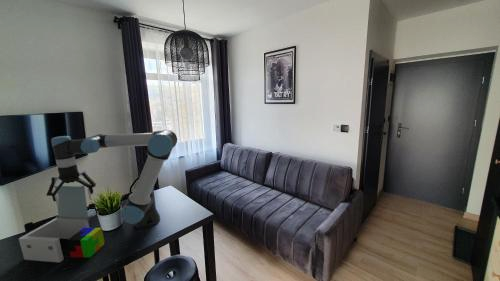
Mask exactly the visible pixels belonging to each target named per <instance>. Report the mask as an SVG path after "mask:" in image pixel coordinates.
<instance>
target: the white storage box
mask: <svg viewBox="0 0 500 281" xmlns="http://www.w3.org/2000/svg"><path fill="white" fill-rule="evenodd" d="M90 220H91V217H90V216H88V217H87V219H75V218H59V214H57V215H56V217H55V218H53V219H51V220H50V221H48V222H46V223H45V224H43V225H40V226H39V227H37V228H35V229H33V230H31V231H30V232H28V233H26V234H25V235H21V236H20V237H19V238H18V242H19V246H20V250H21V252H22V256H23V259H24V260H26V261H34V262H35V261H37V262H38V261H39V262H49V263H50V262H51V263H61V262H63V260H64V255H63V251H62V247H61V242H60V239H62V240H63V239H64V240H68V239H69V238H71V237H72V236H73V235H75V234H76V233H77V232H79V231H80V230H82V229H83V228H90V224H89V221H90Z"/></svg>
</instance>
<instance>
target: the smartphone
mask: <svg viewBox="0 0 500 281" xmlns="http://www.w3.org/2000/svg"><path fill="white" fill-rule="evenodd" d="M87 213H88V216H90V218H91V217H94V216H96V214H97V213H96V211H95V209H89V210H87Z"/></svg>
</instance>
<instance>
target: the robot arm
mask: <svg viewBox="0 0 500 281" xmlns="http://www.w3.org/2000/svg"><path fill="white" fill-rule="evenodd" d="M50 139H51V140H50V141H51V147H52V151H53V154H54V158H55V162H56V167H57V171H58V172H57V173H58V176H56V175H53V176H52V177H51V183H50V185H49V188H48V189H47V192H46V196H47V197H52V201H53V202H54V203H55V202H56V208H58V207H60V206H61V202H60V198H59V194H56V193H57V192H58V190H59V189H60V188H61V187H62V185H65V184H71V183H75V182H77V183H79V184H80V185H84V187H85V188H87V193H88V194H87V195H88V198H89V201H92V200H93V194H94V188H95V187H96V185H97V182H95V181H94V180H93V179H92V178H91V177H90V176H89V175H88V174H87V171H85V170H83V172H79V170H78V165H77V161H76V160H77V159H76V157H75V155H81V154H83V155H86V154H93V153H94V154H95V153H97V152H99V150H100V149H103V148H121V147H122V148H123V147H125V148H127V147H143V146H147V149H146V155H147V158H146V161H145V162H144V165H143V169H142V171H141V173H140V176H139V178H138V181H137V183H136V186H135V188H134V189H133V191H132V193H130V194H129V196H128V197H127V200H126V203H125V205H124V206H123V207H122V208H121V209H120V218H121V219H122V221H124V222H125V223H127V224H130V225H131V224H133V226H134V227H135V228H136V229H147V228H148V229H149V228H151V227H154V226H155V225H156V224H158V223H159V222H160V220H161V215H160V213H159V212H158V210H157V207H156V206H157V205H156V198H155V191H154V190H155V189H154V186H155V184H156V182H157V179H158V177H159V175H160V173H161V169H162V167H163V165H164V163H165V161H167V160H168V159H169V157H170V156H171V153H172V151H173V149H174V148H175V146H177V143H178V136H177V134H176V133H175V132H174V131H173V130H170V129H163V130H154V131H152V132H144V133H143V132H142V133H141V132H140V133H138V132H137V133H118V134H116V133H114V134H105V133H100V134H99V133H98V134H95V135H92V136H89V137H85V138H82V139H80V138H79V139H72V138H71V135H70V136H69V135H63V136H62V135H60V136H55V137H52V138H50ZM80 176H81V177H83V178H84V179H85V180H86V181H85V180H83V179H82V178H81V177H80ZM58 180H60V183H59V184H58V185H59V186H58V187H57V188H56V190H55V187H54V185H56V184H57V183H56V182H57V181H58ZM53 190H54V191H53Z"/></svg>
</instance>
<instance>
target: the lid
mask: <svg viewBox="0 0 500 281" xmlns="http://www.w3.org/2000/svg"><path fill="white" fill-rule="evenodd" d="M59 185H60V184H57V183H55V185H54V191H55V190H56V188H57V187H58V186H59ZM85 188H86V186H84V185H82V184H79V185H78V184H63V185H62V187H61V188H60V189H59V190H58V192H57V193H56V194H59V198H60V202H61V206H60V207H57V212H58V214H57V215H59V218H72V219H87V217H88V213H87V209H88V205H87V204H88V203H87V198H86V189H85Z"/></svg>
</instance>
